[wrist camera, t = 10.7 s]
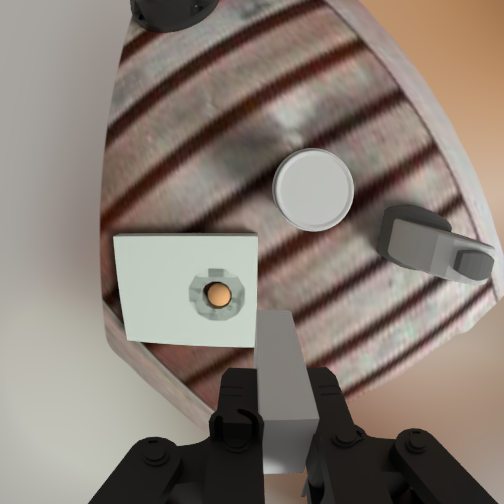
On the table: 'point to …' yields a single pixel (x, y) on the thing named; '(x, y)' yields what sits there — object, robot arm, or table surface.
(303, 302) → the table surface
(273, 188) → the coffee cup
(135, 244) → the plate
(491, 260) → the alarm clock
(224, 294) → the ball
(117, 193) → the table surface
